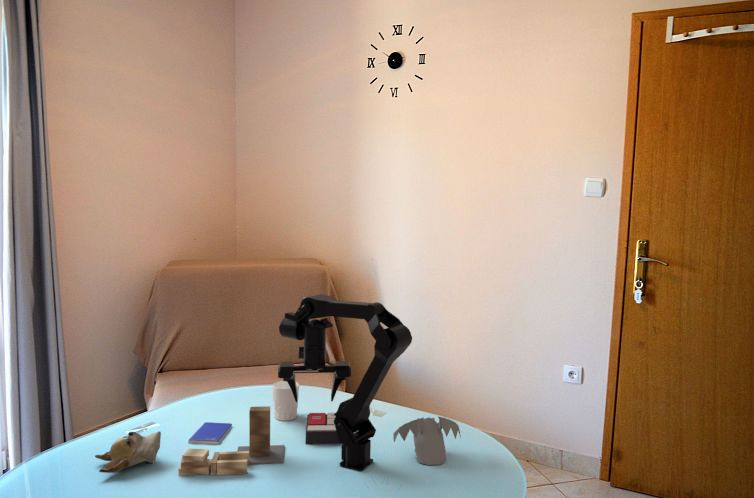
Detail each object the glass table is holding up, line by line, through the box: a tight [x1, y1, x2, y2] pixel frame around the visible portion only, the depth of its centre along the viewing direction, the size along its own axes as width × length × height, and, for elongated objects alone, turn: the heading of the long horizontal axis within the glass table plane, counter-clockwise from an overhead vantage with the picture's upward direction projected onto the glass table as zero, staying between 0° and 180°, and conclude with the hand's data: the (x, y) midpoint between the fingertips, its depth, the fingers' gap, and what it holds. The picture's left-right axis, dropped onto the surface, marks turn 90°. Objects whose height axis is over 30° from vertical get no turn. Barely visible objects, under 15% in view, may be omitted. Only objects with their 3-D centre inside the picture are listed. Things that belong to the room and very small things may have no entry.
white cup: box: [272, 380, 300, 422], centre depth 179 cm, size 8×8×10 cm
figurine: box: [393, 416, 462, 466], centre depth 154 cm, size 18×13×11 cm
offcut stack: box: [177, 448, 212, 476], centre depth 144 cm, size 7×6×4 cm
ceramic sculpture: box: [94, 431, 162, 474], centre depth 146 cm, size 11×9×15 cm
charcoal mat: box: [236, 444, 285, 465], centre depth 153 cm, size 12×10×1 cm
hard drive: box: [187, 421, 233, 445], centre depth 165 cm, size 2×8×12 cm
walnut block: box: [248, 405, 271, 457], centre depth 152 cm, size 5×3×12 cm, turn 96°
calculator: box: [305, 412, 342, 445], centre depth 168 cm, size 11×4×15 cm
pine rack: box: [210, 450, 250, 476], centre depth 145 cm, size 8×6×3 cm
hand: (314, 401), depth 156 cm, fingers open, 9 cm apart
